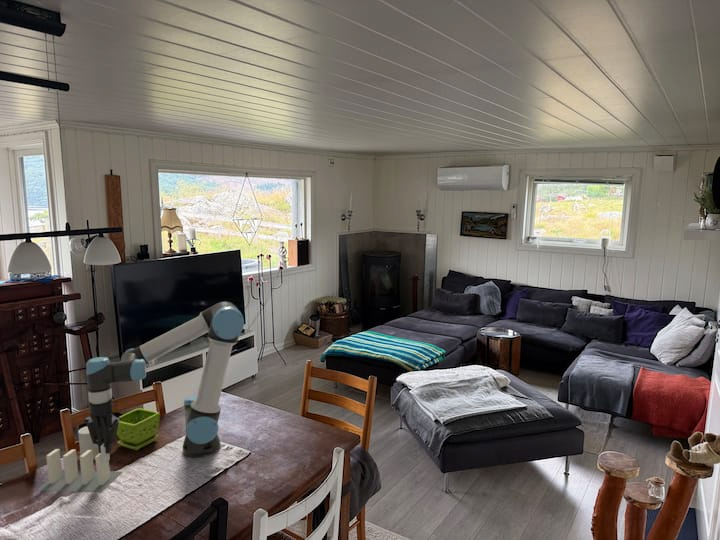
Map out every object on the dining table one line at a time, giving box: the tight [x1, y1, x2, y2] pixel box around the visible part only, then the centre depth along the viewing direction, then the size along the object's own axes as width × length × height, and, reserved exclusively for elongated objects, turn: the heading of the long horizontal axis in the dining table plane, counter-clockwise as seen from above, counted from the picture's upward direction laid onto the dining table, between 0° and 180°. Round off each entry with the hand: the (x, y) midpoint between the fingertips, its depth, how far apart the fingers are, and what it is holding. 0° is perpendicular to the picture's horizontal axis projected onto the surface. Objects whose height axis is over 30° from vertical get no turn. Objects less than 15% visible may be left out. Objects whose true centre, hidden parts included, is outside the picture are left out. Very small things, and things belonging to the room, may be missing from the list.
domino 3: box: [79, 450, 95, 485], centre depth 183 cm, size 2×5×11 cm, turn 175°
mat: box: [36, 469, 124, 494], centre depth 184 cm, size 25×14×1 cm, turn 85°
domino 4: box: [94, 453, 111, 485], centre depth 182 cm, size 2×5×11 cm, turn 175°
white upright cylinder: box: [77, 425, 99, 461], centre depth 202 cm, size 8×8×12 cm
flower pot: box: [116, 407, 161, 451], centre depth 212 cm, size 14×14×13 cm
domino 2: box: [62, 448, 79, 484], centre depth 184 cm, size 2×5×11 cm, turn 175°
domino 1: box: [45, 448, 63, 484], centre depth 184 cm, size 2×5×11 cm, turn 175°
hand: (105, 461), depth 182 cm, fingers closed
